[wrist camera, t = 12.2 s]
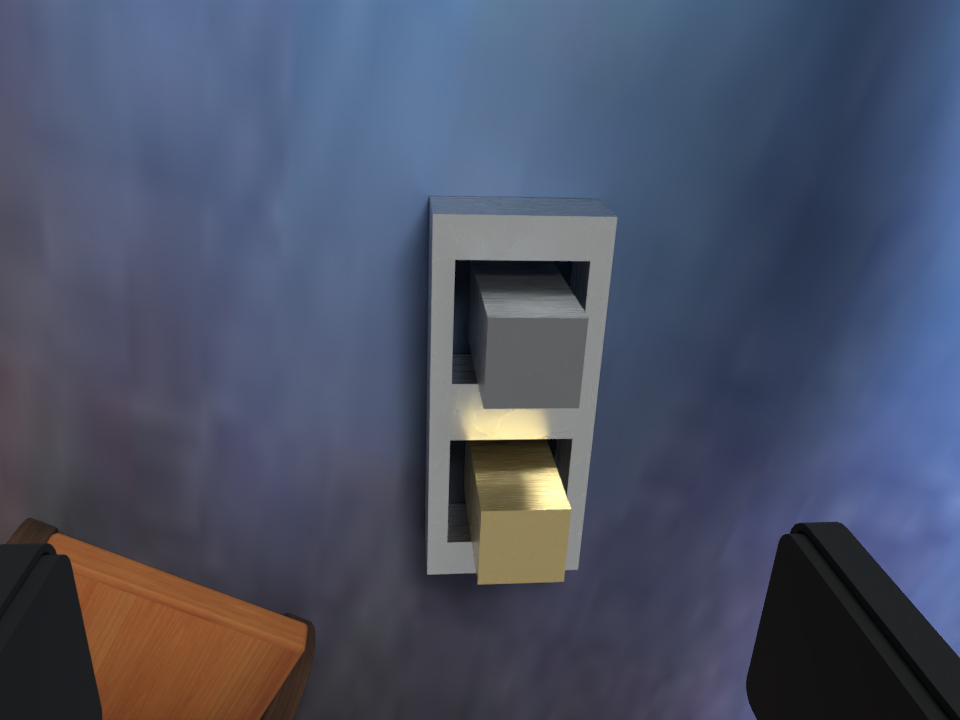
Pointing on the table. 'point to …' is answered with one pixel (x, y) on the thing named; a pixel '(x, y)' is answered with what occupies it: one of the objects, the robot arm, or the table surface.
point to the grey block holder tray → (451, 377)
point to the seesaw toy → (180, 641)
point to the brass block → (516, 511)
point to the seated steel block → (525, 335)
